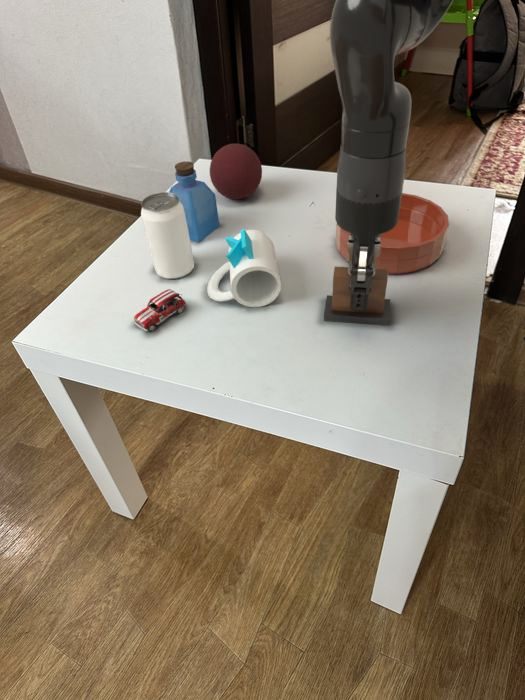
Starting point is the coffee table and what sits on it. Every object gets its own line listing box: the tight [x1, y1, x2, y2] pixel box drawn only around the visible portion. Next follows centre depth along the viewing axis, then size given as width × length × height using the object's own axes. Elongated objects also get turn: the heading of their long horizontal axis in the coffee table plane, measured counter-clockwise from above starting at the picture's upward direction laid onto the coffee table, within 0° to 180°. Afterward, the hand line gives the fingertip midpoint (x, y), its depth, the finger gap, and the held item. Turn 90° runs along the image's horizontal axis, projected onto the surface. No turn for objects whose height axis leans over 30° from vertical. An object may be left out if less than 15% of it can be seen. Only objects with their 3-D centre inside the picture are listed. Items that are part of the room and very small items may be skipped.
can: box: [140, 191, 195, 280], centre depth 77 cm, size 6×6×12 cm
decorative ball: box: [209, 143, 263, 200], centre depth 94 cm, size 10×10×10 cm
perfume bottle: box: [168, 160, 221, 243], centre depth 85 cm, size 6×6×12 cm
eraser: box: [323, 266, 391, 327], centre depth 68 cm, size 9×4×7 cm, turn 79°
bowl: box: [335, 192, 450, 275], centre depth 80 cm, size 17×17×5 cm
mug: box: [206, 228, 282, 308], centre depth 75 cm, size 12×9×12 cm
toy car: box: [133, 288, 187, 333], centre depth 71 cm, size 4×8×3 cm, turn 136°
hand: (358, 301), depth 69 cm, fingers closed on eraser, 2 cm apart
